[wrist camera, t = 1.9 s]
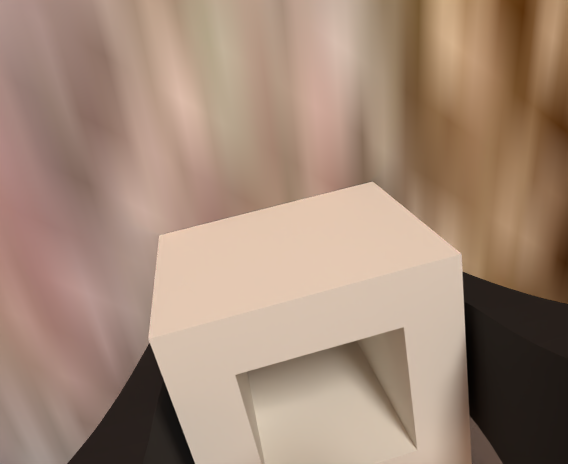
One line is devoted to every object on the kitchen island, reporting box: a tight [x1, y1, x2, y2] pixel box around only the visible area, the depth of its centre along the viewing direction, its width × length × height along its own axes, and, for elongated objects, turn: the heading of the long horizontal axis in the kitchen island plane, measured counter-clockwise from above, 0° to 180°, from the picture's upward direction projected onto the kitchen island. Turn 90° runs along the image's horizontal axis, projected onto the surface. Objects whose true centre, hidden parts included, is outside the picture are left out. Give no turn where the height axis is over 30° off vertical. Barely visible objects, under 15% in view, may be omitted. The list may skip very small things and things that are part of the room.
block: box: [148, 182, 472, 464], centre depth 12 cm, size 6×6×4 cm
